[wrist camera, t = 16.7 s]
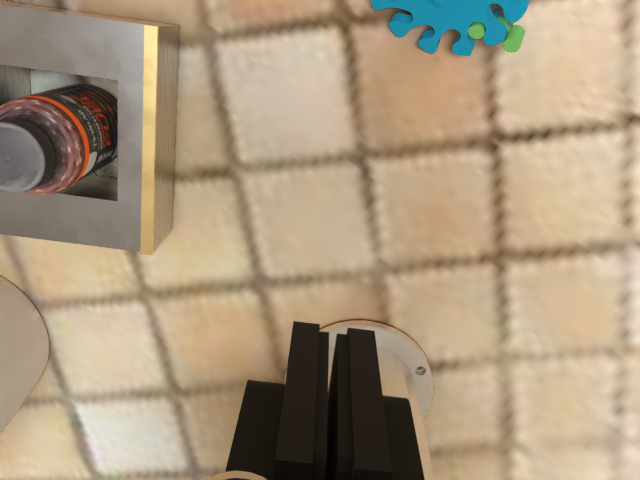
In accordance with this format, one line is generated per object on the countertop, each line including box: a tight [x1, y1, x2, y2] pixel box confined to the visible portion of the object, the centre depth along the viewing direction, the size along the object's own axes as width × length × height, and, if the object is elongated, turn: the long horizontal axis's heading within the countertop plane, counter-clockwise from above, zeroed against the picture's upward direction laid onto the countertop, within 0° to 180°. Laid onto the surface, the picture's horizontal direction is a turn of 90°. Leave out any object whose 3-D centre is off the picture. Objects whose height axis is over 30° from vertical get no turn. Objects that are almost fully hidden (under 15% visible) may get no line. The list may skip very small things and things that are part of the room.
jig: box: [0, 0, 180, 255], centre depth 40 cm, size 15×13×5 cm
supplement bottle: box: [0, 84, 118, 195], centre depth 37 cm, size 6×6×11 cm
